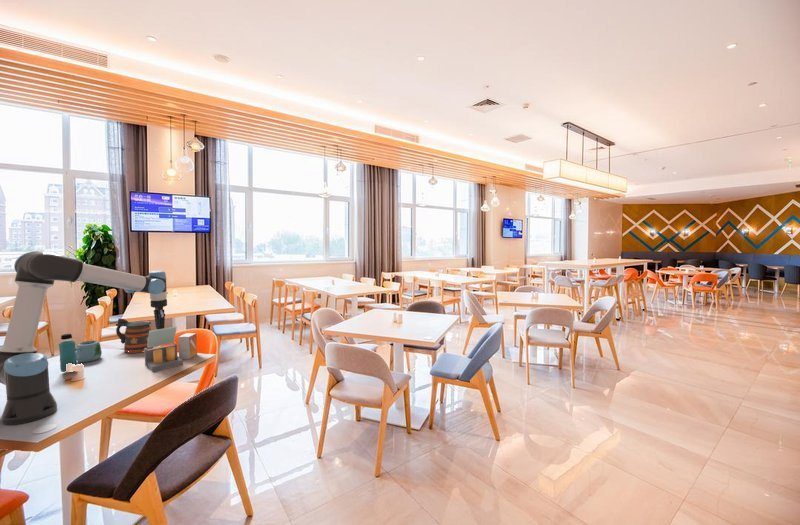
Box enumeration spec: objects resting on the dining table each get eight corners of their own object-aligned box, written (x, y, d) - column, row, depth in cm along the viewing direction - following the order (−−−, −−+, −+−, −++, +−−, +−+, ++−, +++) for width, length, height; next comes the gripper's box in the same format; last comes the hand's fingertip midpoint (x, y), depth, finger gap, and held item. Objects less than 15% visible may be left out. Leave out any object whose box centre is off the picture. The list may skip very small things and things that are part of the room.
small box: (190, 359, 204) (189, 336, 203) (178, 359, 204) (177, 336, 203) (197, 354, 212) (196, 332, 211) (186, 354, 212) (185, 332, 211)
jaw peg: (167, 365, 194) (167, 349, 193) (166, 363, 197) (165, 347, 196) (176, 363, 197) (175, 347, 196) (174, 362, 200) (173, 346, 199)
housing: (151, 371, 185) (150, 353, 185) (145, 365, 195) (144, 347, 194) (183, 364, 196) (183, 347, 195) (176, 358, 206) (175, 341, 205)
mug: (84, 366, 194) (82, 347, 193) (63, 365, 194) (62, 347, 193) (107, 356, 208) (106, 339, 208) (88, 356, 209) (87, 339, 208)
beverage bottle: (67, 375, 180) (64, 336, 179) (56, 374, 182) (54, 335, 180) (81, 370, 187) (78, 333, 185) (71, 369, 188) (68, 332, 187)
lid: (149, 331, 189) (149, 330, 189) (147, 347, 194) (147, 346, 195) (176, 327, 198) (176, 326, 198) (173, 342, 203) (173, 341, 204)
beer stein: (111, 355, 211) (108, 321, 209) (122, 347, 224) (120, 316, 223) (148, 352, 216) (146, 319, 215) (157, 345, 230) (155, 314, 229)
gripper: (170, 300, 194) (171, 342, 197) (163, 296, 203) (165, 336, 205) (153, 302, 189) (155, 345, 191) (147, 298, 197) (149, 339, 200)
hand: (160, 341), depth 198 cm, fingers closed
